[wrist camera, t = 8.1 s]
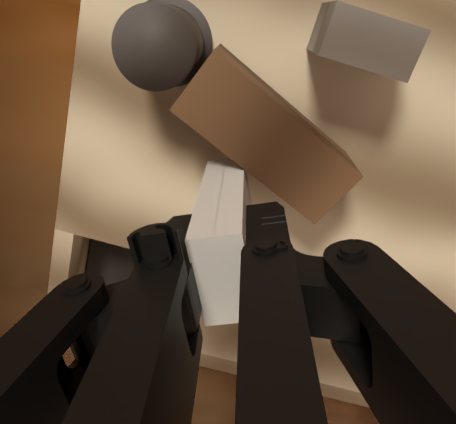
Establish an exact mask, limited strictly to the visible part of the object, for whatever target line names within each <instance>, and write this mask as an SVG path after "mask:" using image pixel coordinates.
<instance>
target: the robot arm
mask: <svg viewBox="0 0 456 424" xmlns="http://www.w3.org/2000/svg"><path fill="white" fill-rule="evenodd" d="M127 241H128V245H129V248H130V251H131V255H132V258H133V261H134V265H135V266H134V268H133V270H132V272H131V274H130V277H129V278H128V279H125V280H122V281H119V282H116V283H112V284H109V285H106V284H105V281H104V278H103V276H101V275H100V274H97V273H81V274H78V275H74V276H71V277H70V278H69V279H67V280H64V281H63V282H61V283H60V284H59V285H57V286H56V287H55V288H54V289H53V290H52V291H51V292H49V293H48V294H47V295H46V296H45V297H44V298H43V299H42V300H41V301H40V302H39V303H38V304H37V305H36V306H34V307H33V308H32V309H31V310H30V311H29V312H28V313H27V314H26V315H25V316H24V317H23V318H22V319H21V320H19V321H18V322H17V323H16V324H15V325H14V326H13V327H12V328H11V329H10V330H9V331H8V332H7V333H5V334H4V335H3V336H2V337H1V338H0V424H191V420H192V413H193V406H194V399H195V392H196V385H197V377H198V370H199V363H200V356H201V349H202V342H203V336H202V331H201V327H200V317H201V312H202V317H203V321H204V325H205V326H214V325H223V324H233V323H238V351H237V381H236V410H235V424H328V423H327V417H326V412H325V407H324V402H323V397H322V392H321V387H320V382H319V377H318V372H317V367H316V361H315V356H314V351H313V346H312V341H311V337H317V338H324V339H330V342H331V345H332V348H333V350H334V351H335V353H336V354H337V356H338V358H339V359H340V361H341V362H342V364H343V366H344V367H345V369H346V370H347V372H348V374H349V375H350V377H351V378H352V380H353V382H354V383H355V385H356V386H357V388H358V390H359V391H360V393H361V394H362V396H363V397H364V399H365V401H366V402H367V404H368V405H369V407H370V409H371V410H372V412H373V413H374V415H375V417H376V418H377V420H378V421H379V423H380V424H456V313H455V312H454V311H453V310H452V309H450V308H449V307H448V306H447V305H446V304H445V303H443V302H442V301H441V300H440V299H439V298H438V297H436V296H435V295H434V294H433V293H432V292H431V291H429V290H428V289H427V288H426V287H425V286H424V285H422V284H421V283H420V282H419V281H418V280H417V279H416V278H414V277H413V276H412V275H411V274H410V273H409V272H407V271H406V270H405V269H404V268H403V267H402V266H400V265H399V264H398V263H397V262H396V261H395V260H393V259H392V258H391V257H390V256H389V255H388V254H387V253H385V252H384V251H383V250H382V249H381V248H380V247H378V246H377V245H375V244H373V243H371V242H368V241H364V240H360V239H355V240H354V239H347V240H342V241H338V242H335V243H333V244H331V245H329V246H328V247H327V248H325V250H324V253H323V256H312V255H306V254H303V253H300V252H298V251H296V250H295V249H294V248H293V245H292V244H291V241H290V236H289V231H288V226H287V221H286V216H285V210H284V207H283V206H282V205H281V204H279V203H278V202H276V201H275V202H268V203H261V204H253V205H252V202H251V196H250V190H249V183H248V177H247V171H246V170H244V169H243V168H242V167H241V166H239V165H238V164H237V163H235V162H234V161H233V160H232V159H230V158H225V159H218V160H211V161H207V165H206V168H205V172H204V175H203V179H202V182H201V186H200V189H199V192H198V196H197V199H196V203H195V206H194V210H193V213H192V214H187V215H180V216H173V217H172V218H171V219H170V220H169V221H167V222H166V223H155V224H150V225H146V226H144V227H141V228H138V229H137V230H135V231H133V232H132V233H130V235H129V236H128V237H127ZM69 347H71V350H72V352H73V355H74V357H75V360H74V361H73V362H72V364H70V365H69V366H68V367H67V365H66V364H65V362H64V359H63V357H62V356H63V354H64V353H65V352H66V351H67V349H68V348H69Z"/></svg>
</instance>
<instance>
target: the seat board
mask: <svg viewBox="0 0 456 424" xmlns="http://www.w3.org/2000/svg"><path fill="white" fill-rule="evenodd" d="M143 2H156V3H163V4H170V5H175V6H178V7H181V8H183V9H184V10H186V11H187V12H189V13H190V14H191V15H192V16H193V17H194V19H195V20H196V21H197V23H198V24H199V27H200V29H201V32H202V35H203V43H204V46H203V54H202V57H201V59H200V62H199V63H198V65H197V67H196V68H195V69H194V70H193V71H192V72H191V73H190V74H189V75H188V76H187V77H186V78H185V79H184V80H183V81H182V82H180V83H179V84H178V85H176V86H175V87H173V88H171V89H168V90H165V91H157V92H154V91H147V90H144V89H141V88H139V87H137V86H135V85H133V84H132V83H131V82H129V81H128V80H127V79H126V78H125V77H124V76H123V75H122V73H121V72H120V70H119V69H118V67H117V65H116V63H115V61H114V58H113V54H112V48H111V40H112V33H113V29H114V27H115V24H116V22H117V20H118V19H119V17H120V16H121V15H122V14H123V13H124V12H125V11H126V10H127V9H129V8H130V7H132V6H134V5H136V4H139V3H143ZM220 43H221V44H222V45H223V46H224V47H225V48H226V49H228V50H229V51H230V52H231V53H232V54H233V55H234V56H236V57H237V58H238V59H239V60H240V61H241V62H243V63H244V64H245V65H246V66H247V67H248V68H250V69H251V70H252V71H253V72H254V73H255V74H257V75H258V76H259V77H260V78H261V79H262V80H263V81H265V82H266V83H267V84H268V85H269V86H270V87H272V88H273V89H274V90H275V91H276V92H277V93H279V94H280V95H281V96H282V97H283V98H284V99H285V100H287V101H288V102H289V103H290V104H291V105H292V106H294V107H295V108H296V109H297V110H298V111H299V112H301V113H302V114H303V115H304V116H305V117H306V118H307V119H309V120H310V121H311V122H312V123H313V124H314V125H316V126H317V127H318V128H319V129H320V130H321V131H323V132H324V133H325V134H326V135H327V136H328V137H329V138H331V139H332V140H333V141H334V142H335V143H336V144H338V145H339V146H340V147H341V148H342V149H343V150H345V151H346V153H347V154H348V156H349V157H350V158H351V160H352V161H353V163H354V164H355V166H356V167H357V168H358V170H359V171H360V173H361V174H362V175H363V178H362V179H361V180H360V181H359V182H358V183H357V184H356V185H355V186H354V187H353V188H352V189H351V190H350V191H349V192H348V193H347V194H346V195H345V196H344V197H343V198H342V199H340V200H339V201H338V202H337V203H336V204H335V205H334V206H333V207H332V208H331V209H330V210H329V211H328V212H327V213H326V214H325V215H324V216H323V217H322V218H321V219H320V220H319V221H318V222H317V223H316V224H315V225H314V224H313V223H312V222H310V221H309V220H308V219H306V218H305V217H304V216H303V215H301V214H300V213H299V212H298V211H296V210H295V209H294V208H293V207H291V206H290V205H289V204H287V203H286V202H285V201H284V200H282V199H281V198H280V197H279V196H277V195H276V194H275V193H274V192H272V191H271V190H270V189H268V188H267V187H266V186H265V185H263V184H262V183H261V182H260V181H258V180H257V179H256V178H254V177H253V176H252V175H251V174H249V173H248V172H247V177H248V183H249V190H250V196H251V202H252V205H253V204H261V203H268V202H275V201H276V202H278V203H279V204H281V205H282V206H283V207H284V210H285V216H286V221H287V226H288V231H289V236H290V241H291V244H292V245H293V248H294V249H295V250H296V251H298V252H300V253H303V254H306V255H312V256H323V253H324V250H325V248H327V247H328V246H329V245H331V244H333V243H335V242H338V241H342V240H347V239H354V240H355V239H360V240H364V241H368V242H371V243H373V244H375V245H377V246H378V247H380V248H381V249H382V250H383V251H384V252H385V253H387V254H388V255H389V256H390V257H391V258H392V259H393V260H395V261H396V262H397V263H398V264H399V265H400V266H402V267H403V268H404V269H405V270H406V271H407V272H409V273H410V274H411V275H412V276H413V277H414V278H416V279H417V280H418V281H419V282H420V283H421V284H422V285H424V286H425V287H426V288H427V289H428V290H429V291H431V292H432V293H433V294H434V295H435V296H436V297H438V298H439V299H440V300H441V301H442V302H443V303H445V304H446V305H447V306H448V307H449V308H450V309H452V310H453V311H454V312H455V313H456V0H81V7H80V15H79V24H78V32H77V41H76V50H75V58H74V67H73V76H72V84H71V93H70V102H69V110H68V119H67V128H66V136H65V145H64V154H63V162H62V171H61V179H60V188H59V197H58V205H57V214H56V223H55V231H54V240H53V249H52V257H51V266H50V275H49V283H48V292H47V294H48V293H49V292H51V291H52V290H53V289H54V288H55V287H56V286H57V285H59V284H60V283H61V282H63V281H64V280H67V279H69V278H70V277H71V276H74V275H78V274H81V273H85V269H86V273H97V274H100V275H101V276H103V278H104V281H105V284H106V285H109V284H112V283H116V282H119V281H122V280H125V279H128V278H129V277H130V274H131V272H132V270H133V268H134V266H135V265H134V261H133V258H132V255H131V251H130V248H129V245H128V241H127V237H128V236H129V235H130V233H132V232H133V231H135V230H137V229H138V228H141V227H144V226H146V225H150V224H155V223H166V222H167V221H169V220H170V219H171V218H172V217H173V216H180V215H187V214H192V213H193V210H194V206H195V203H196V199H197V196H198V192H199V189H200V186H201V182H202V179H203V175H204V172H205V168H206V165H207V161H211V160H218V159H225V158H229V157H228V156H227V155H225V154H224V153H223V152H222V151H220V150H219V149H218V148H216V147H215V146H214V145H213V144H211V143H210V142H209V141H208V140H206V139H205V138H204V137H202V136H201V135H200V134H199V133H197V132H196V131H195V130H194V129H192V128H191V127H190V126H189V125H187V124H186V123H185V122H183V121H182V120H181V119H180V118H178V117H177V116H176V115H175V114H173V113H172V112H171V111H169V110H170V108H171V107H172V106H173V104H174V103H175V102H176V100H177V99H178V98H179V96H180V95H181V94H182V92H183V91H184V90H185V88H186V87H187V85H188V84H189V83H190V81H191V80H192V79H193V77H194V76H195V75H196V73H197V72H198V71H199V69H200V68H201V67H202V65H203V64H204V62H205V61H206V60H207V58H208V57H209V56H210V54H211V53H212V52H213V50H214V49H215V48H216V47H217V46H218V45H219V44H220ZM90 239H91V243H90ZM89 243H90V249H89ZM88 250H89V255H88ZM87 256H88V261H87ZM86 262H87V268H86ZM200 327H201V331H202V336H203V342H202V349H201V356H200V363H199V366H202V367H206V368H210V369H214V370H218V371H222V372H226V373H230V374H234V375H237V351H238V323H233V324H223V325H214V326H205V325H204V321H203V317H202V312H201V317H200ZM311 341H312V346H313V351H314V356H315V361H316V367H317V372H318V377H319V382H320V387H321V392H322V396H323V397H328V398H332V399H336V400H340V401H344V402H348V403H352V404H356V405H360V406H364V407H368V408H370V407H369V405H368V404H367V402H366V401H365V399H364V397H363V396H362V394H361V393H360V391H359V390H358V388H357V386H356V385H355V383H354V382H353V380H352V378H351V377H350V375H349V374H348V372H347V370H346V369H345V367H344V366H343V364H342V362H341V361H340V359H339V358H338V356H337V354H336V353H335V351H334V350H333V348H332V345H331V342H330V339H324V338H317V337H311Z"/></svg>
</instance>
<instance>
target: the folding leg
mask: <svg viewBox="0 0 456 424" xmlns="http://www.w3.org/2000/svg"><path fill="white" fill-rule="evenodd" d="M203 46H204V43H203V35H202V32H201V29H200V27H199V24H198V23H197V21H196V20H195V19H194V17H193V16H192V15H191V14H190V13H189V12H187V11H186V10H184V9H183V8H181V7H178V6H175V5H170V4H163V3H156V2H143V3H139V4H136V5H134V6H132V7H130V8H129V9H127V10H126V11H125V12H124V13H123V14H122V15H121V16H120V17H119V19H118V20H117V22H116V24H115V27H114V29H113V33H112V40H111V48H112V54H113V58H114V61H115V63H116V65H117V67H118V69H119V70H120V72H121V73H122V75H123V76H124V77H125V78H126V79H127V80H128V81H129V82H131V83H132V84H133V85H135V86H137V87H139V88H141V89H144V90H147V91H154V92H157V91H165V90H168V89H171V88H173V87H175V86H176V85H178V84H179V83H180V82H182V81H183V80H184V79H185V78H186V77H187V76H188V75H189V74H190V73H191V72H192V71H193V70H194V69H195V68H196V67H197V65H198V63H199V62H200V59H201V57H202V54H203ZM169 111H171V112H172V113H173V114H175V115H176V116H177V117H178V118H180V119H181V120H182V121H183V122H185V123H186V124H187V125H189V126H190V127H191V128H192V129H194V130H195V131H196V132H197V133H199V134H200V135H201V136H202V137H204V138H205V139H206V140H208V141H209V142H210V143H211V144H213V145H214V146H215V147H216V148H218V149H219V150H220V151H222V152H223V153H224V154H225V155H227V156H228V157H229V158H230V159H232V160H233V161H234V162H235V163H237V164H238V165H239V166H241V167H242V168H243V169H244V170H246V171H247V172H248V173H249V174H251V175H252V176H253V177H254V178H256V179H257V180H258V181H260V182H261V183H262V184H263V185H265V186H266V187H267V188H268V189H270V190H271V191H272V192H274V193H275V194H276V195H277V196H279V197H280V198H281V199H282V200H284V201H285V202H286V203H287V204H289V205H290V206H291V207H293V208H294V209H295V210H296V211H298V212H299V213H300V214H301V215H303V216H304V217H305V218H306V219H308V220H309V221H310V222H312V223H313V224H314V225H315V224H316V223H317V222H318V221H319V220H320V219H321V218H322V217H323V216H324V215H325V214H326V213H327V212H328V211H329V210H330V209H331V208H332V207H333V206H334V205H335V204H336V203H337V202H338V201H339V200H340V199H342V198H343V197H344V196H345V195H346V194H347V193H348V192H349V191H350V190H351V189H352V188H353V187H354V186H355V185H356V184H357V183H358V182H359V181H360V180H361V179H362V178H363V175H362V174H361V173H360V171H359V170H358V168H357V167H356V166H355V164H354V163H353V161H352V160H351V158H350V157H349V156H348V154H347V153H346V151H345V150H343V149H342V148H341V147H340V146H339V145H338V144H336V143H335V142H334V141H333V140H332V139H331V138H329V137H328V136H327V135H326V134H325V133H324V132H323V131H321V130H320V129H319V128H318V127H317V126H316V125H314V124H313V123H312V122H311V121H310V120H309V119H307V118H306V117H305V116H304V115H303V114H302V113H301V112H299V111H298V110H297V109H296V108H295V107H294V106H292V105H291V104H290V103H289V102H288V101H287V100H285V99H284V98H283V97H282V96H281V95H280V94H279V93H277V92H276V91H275V90H274V89H273V88H272V87H270V86H269V85H268V84H267V83H266V82H265V81H263V80H262V79H261V78H260V77H259V76H258V75H257V74H255V73H254V72H253V71H252V70H251V69H250V68H248V67H247V66H246V65H245V64H244V63H243V62H241V61H240V60H239V59H238V58H237V57H236V56H234V55H233V54H232V53H231V52H230V51H229V50H228V49H226V48H225V47H224V46H223V45H222V44H221V43H220V44H219V45H218V46H217V47H216V48H215V49H214V50H213V52H212V53H211V54H210V56H209V57H208V58H207V60H206V61H205V62H204V64H203V65H202V67H201V68H200V69H199V71H198V72H197V73H196V75H195V76H194V77H193V79H192V80H191V81H190V83H189V84H188V85H187V87H186V88H185V90H184V91H183V92H182V94H181V95H180V96H179V98H178V99H177V100H176V102H175V103H174V104H173V106H172V107H171V108H170V110H169Z"/></svg>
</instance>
